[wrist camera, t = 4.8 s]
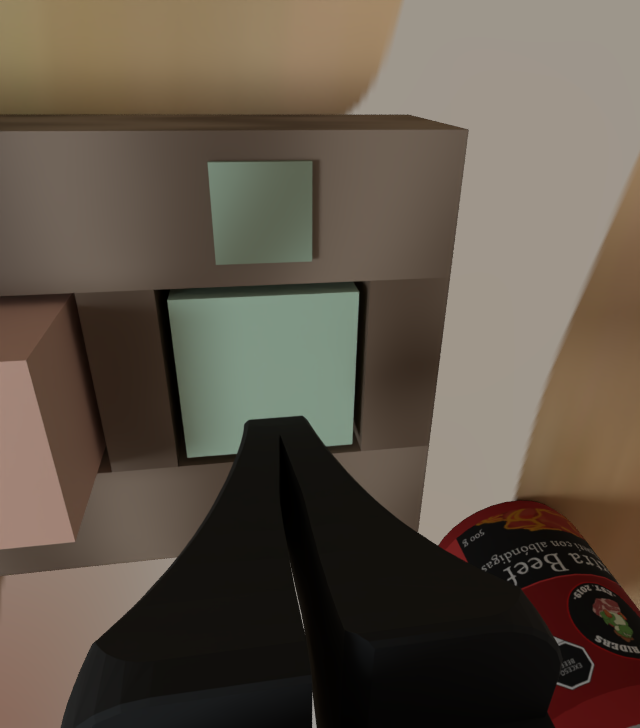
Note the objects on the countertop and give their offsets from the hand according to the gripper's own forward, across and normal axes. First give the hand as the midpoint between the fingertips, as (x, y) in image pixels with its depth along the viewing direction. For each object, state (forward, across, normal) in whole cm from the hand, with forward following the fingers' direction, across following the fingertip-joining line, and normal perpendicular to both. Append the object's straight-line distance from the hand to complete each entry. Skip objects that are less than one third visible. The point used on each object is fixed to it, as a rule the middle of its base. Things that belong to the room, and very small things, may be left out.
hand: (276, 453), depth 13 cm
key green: (+7, 0, 0) cm, 7 cm away
